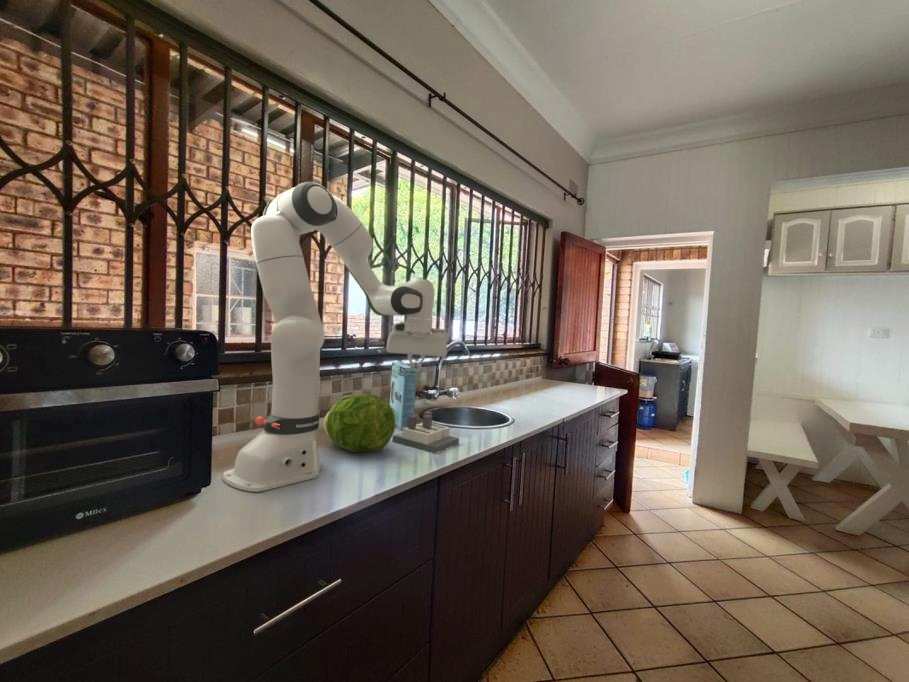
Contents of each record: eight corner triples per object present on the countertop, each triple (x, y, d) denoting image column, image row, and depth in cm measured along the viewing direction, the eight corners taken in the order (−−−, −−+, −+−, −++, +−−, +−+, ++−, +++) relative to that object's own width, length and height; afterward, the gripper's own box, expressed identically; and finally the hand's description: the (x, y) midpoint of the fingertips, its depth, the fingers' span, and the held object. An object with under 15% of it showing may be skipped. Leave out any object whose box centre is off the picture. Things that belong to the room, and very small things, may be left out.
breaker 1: (411, 428, 130) (412, 417, 130) (406, 427, 131) (407, 416, 131) (416, 427, 132) (417, 416, 132) (411, 426, 133) (412, 415, 133)
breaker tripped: (427, 428, 132) (428, 417, 132) (422, 426, 133) (423, 415, 133) (431, 426, 134) (432, 415, 134) (426, 425, 135) (427, 414, 135)
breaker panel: (435, 453, 124) (436, 437, 123) (392, 441, 132) (393, 426, 132) (458, 444, 136) (459, 429, 135) (417, 433, 144) (418, 419, 144)
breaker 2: (427, 423, 138) (428, 413, 137) (423, 422, 139) (423, 412, 138) (431, 422, 140) (432, 412, 139) (427, 421, 141) (427, 411, 140)
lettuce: (351, 436, 136) (341, 387, 134) (408, 439, 125) (399, 386, 122) (312, 459, 121) (300, 404, 118) (373, 466, 110) (361, 405, 107)
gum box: (413, 430, 148) (418, 368, 147) (399, 430, 146) (404, 367, 145) (399, 417, 166) (404, 361, 165) (387, 417, 164) (391, 361, 163)
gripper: (449, 329, 139) (446, 369, 140) (389, 324, 138) (386, 364, 139) (449, 329, 133) (446, 371, 133) (387, 324, 132) (384, 366, 133)
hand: (415, 368), depth 136 cm, fingers closed
